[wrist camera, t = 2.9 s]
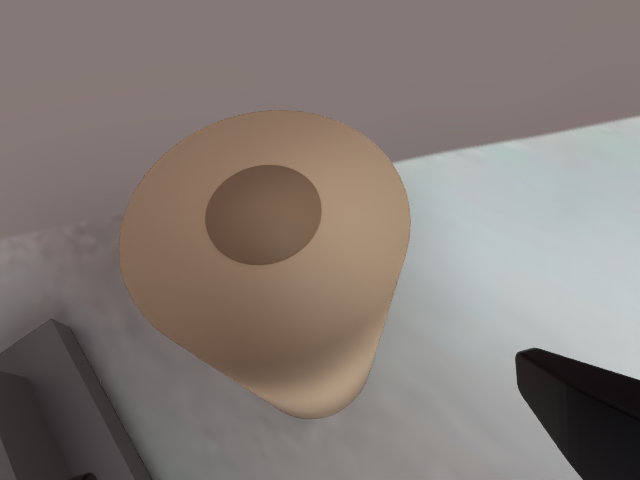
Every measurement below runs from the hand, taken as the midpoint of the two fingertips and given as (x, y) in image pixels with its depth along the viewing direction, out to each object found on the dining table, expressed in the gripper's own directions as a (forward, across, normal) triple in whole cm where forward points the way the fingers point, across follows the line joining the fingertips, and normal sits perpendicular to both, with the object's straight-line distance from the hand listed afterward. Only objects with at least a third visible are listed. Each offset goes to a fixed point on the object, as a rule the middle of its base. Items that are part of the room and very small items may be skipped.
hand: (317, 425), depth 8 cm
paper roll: (+10, 0, +5) cm, 11 cm away
